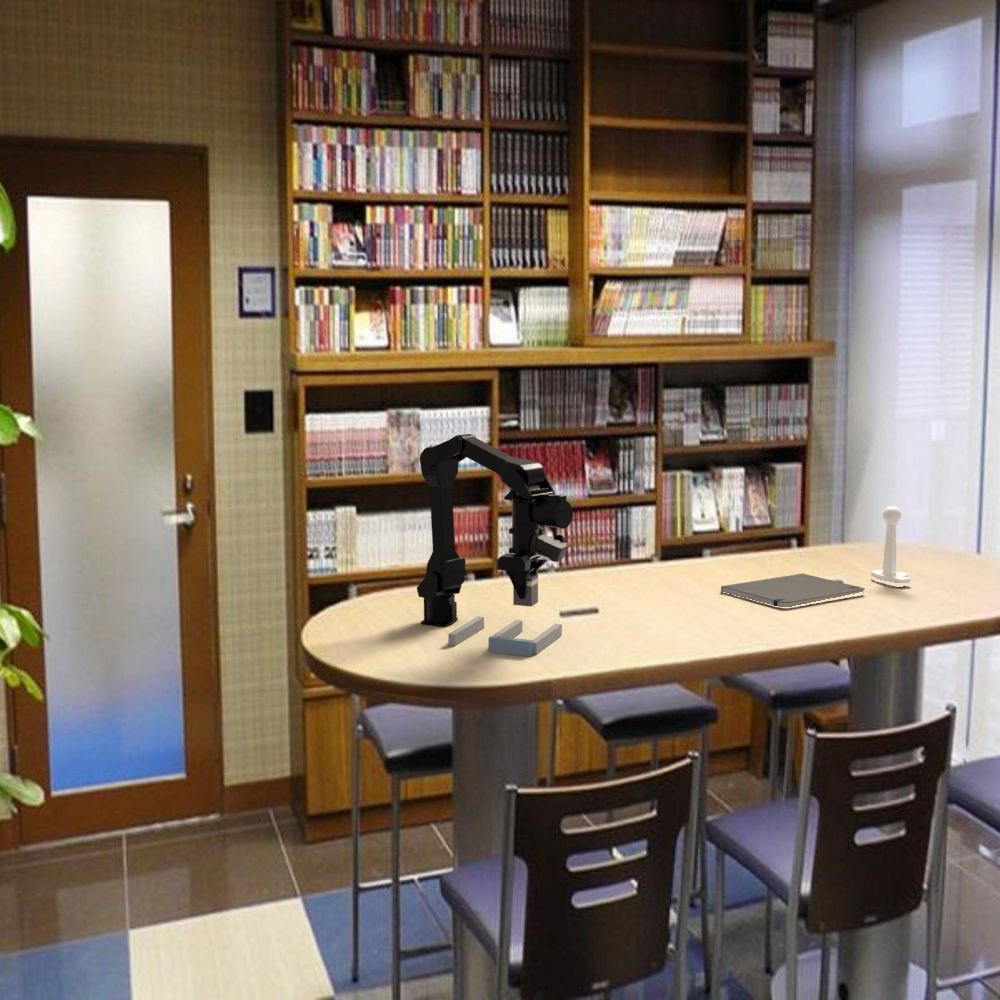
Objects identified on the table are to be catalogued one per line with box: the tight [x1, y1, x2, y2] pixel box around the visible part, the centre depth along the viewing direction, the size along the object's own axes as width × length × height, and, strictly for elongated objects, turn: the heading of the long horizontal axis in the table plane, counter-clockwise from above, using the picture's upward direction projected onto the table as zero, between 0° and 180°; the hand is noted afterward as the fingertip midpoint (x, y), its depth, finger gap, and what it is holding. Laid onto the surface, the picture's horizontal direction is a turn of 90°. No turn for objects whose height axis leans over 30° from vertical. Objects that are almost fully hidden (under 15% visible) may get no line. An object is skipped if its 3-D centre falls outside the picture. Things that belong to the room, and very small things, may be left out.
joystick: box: [870, 505, 912, 583], centre depth 311 cm, size 11×8×20 cm
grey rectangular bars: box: [447, 615, 563, 657], centre depth 257 cm, size 20×18×3 cm
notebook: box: [720, 573, 866, 607], centre depth 300 cm, size 22×2×28 cm
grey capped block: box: [512, 573, 539, 608], centre depth 255 cm, size 4×4×6 cm
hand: (525, 596), depth 255 cm, fingers closed on grey capped block, 4 cm apart
